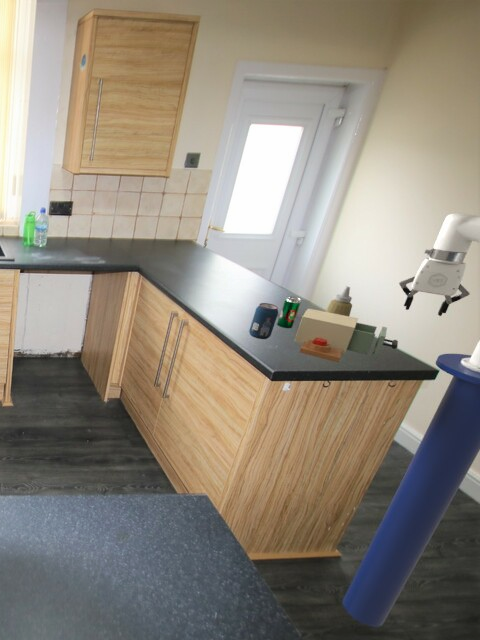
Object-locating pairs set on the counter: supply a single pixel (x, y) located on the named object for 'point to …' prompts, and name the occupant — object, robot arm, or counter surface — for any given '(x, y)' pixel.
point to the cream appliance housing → (326, 328)
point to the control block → (321, 351)
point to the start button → (320, 341)
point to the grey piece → (368, 339)
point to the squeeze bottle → (341, 303)
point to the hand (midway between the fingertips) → (423, 311)
